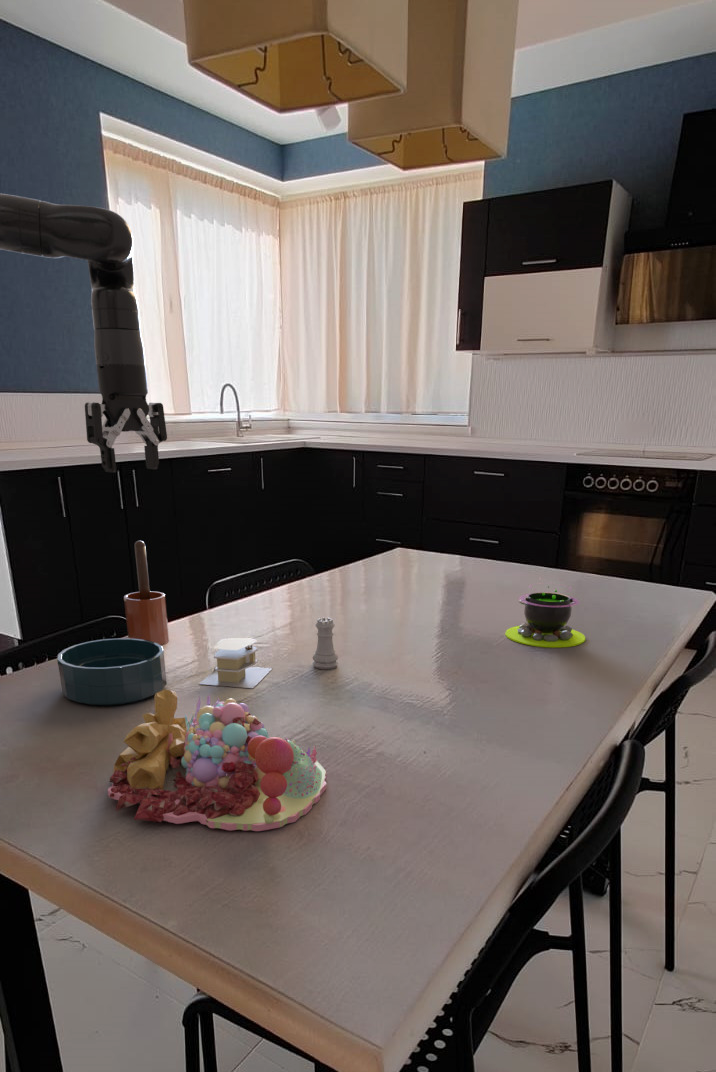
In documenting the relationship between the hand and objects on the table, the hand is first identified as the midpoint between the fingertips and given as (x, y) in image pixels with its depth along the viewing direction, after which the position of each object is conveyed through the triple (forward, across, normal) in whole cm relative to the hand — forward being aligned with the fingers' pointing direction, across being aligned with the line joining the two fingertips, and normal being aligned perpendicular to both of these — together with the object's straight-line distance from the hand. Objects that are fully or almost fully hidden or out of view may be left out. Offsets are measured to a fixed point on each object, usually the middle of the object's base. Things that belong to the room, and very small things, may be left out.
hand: (131, 470), depth 128 cm
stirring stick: (+30, 0, 0) cm, 30 cm away
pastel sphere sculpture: (+30, +31, +50) cm, 66 cm away
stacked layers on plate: (+30, +3, +25) cm, 39 cm away
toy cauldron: (+30, -50, +55) cm, 80 cm away
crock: (+30, 0, 0) cm, 30 cm away
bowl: (+30, +19, +15) cm, 39 cm away
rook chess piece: (+30, -10, +33) cm, 46 cm away
